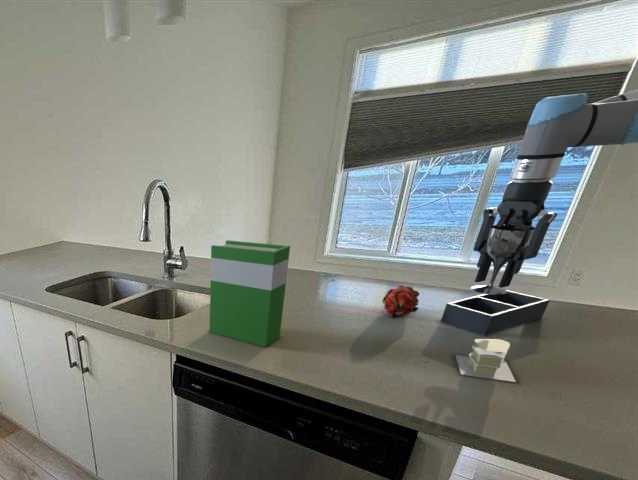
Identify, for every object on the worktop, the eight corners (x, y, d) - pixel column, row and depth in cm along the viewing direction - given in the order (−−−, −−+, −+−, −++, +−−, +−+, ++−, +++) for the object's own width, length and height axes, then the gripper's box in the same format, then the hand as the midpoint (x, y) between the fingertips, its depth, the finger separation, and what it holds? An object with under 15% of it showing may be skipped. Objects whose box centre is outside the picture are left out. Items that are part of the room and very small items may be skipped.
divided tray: (541, 318, 106) (550, 299, 103) (484, 335, 100) (492, 316, 98) (495, 306, 115) (502, 288, 112) (440, 321, 109) (446, 303, 107)
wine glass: (504, 286, 103) (528, 224, 96) (514, 296, 97) (541, 230, 90) (465, 284, 106) (486, 224, 99) (473, 294, 100) (496, 230, 93)
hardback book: (209, 331, 116) (211, 245, 104) (224, 323, 120) (227, 240, 108) (265, 346, 105) (274, 252, 93) (279, 337, 109) (290, 245, 97)
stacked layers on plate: (515, 382, 82) (527, 358, 79) (460, 374, 86) (469, 351, 83) (505, 361, 89) (515, 338, 86) (455, 355, 93) (463, 333, 90)
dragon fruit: (401, 311, 121) (395, 331, 114) (378, 293, 122) (371, 312, 115) (428, 292, 114) (423, 312, 107) (403, 273, 115) (397, 291, 108)
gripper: (476, 180, 96) (445, 278, 107) (570, 183, 81) (522, 295, 93) (498, 177, 98) (465, 273, 109) (593, 179, 83) (544, 290, 94)
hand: (491, 283), depth 101 cm, fingers closed on wine glass, 5 cm apart
